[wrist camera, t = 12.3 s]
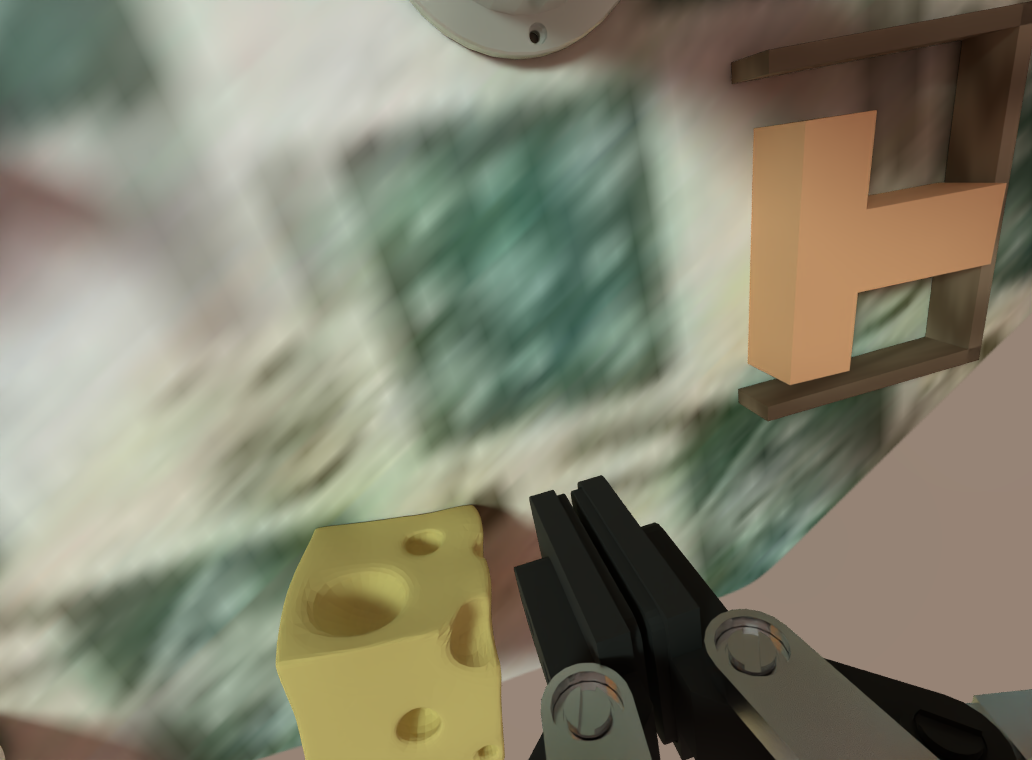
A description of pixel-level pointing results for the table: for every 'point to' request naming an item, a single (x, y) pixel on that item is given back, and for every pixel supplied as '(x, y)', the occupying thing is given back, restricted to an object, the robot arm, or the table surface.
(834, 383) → the brown wooden rack
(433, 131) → the table surface
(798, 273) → the t block
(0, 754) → the can
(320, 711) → the cheese
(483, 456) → the table surface
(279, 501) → the table surface
